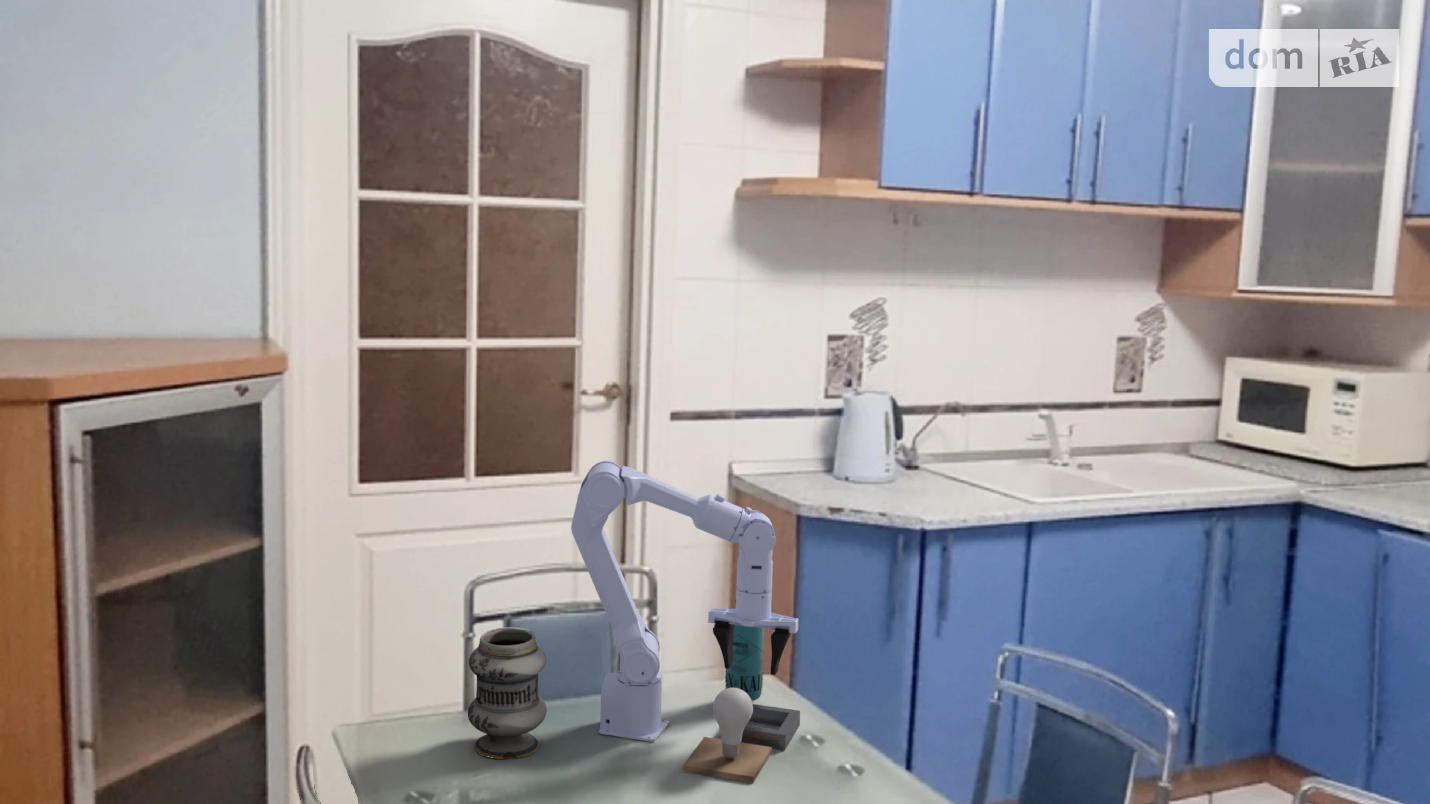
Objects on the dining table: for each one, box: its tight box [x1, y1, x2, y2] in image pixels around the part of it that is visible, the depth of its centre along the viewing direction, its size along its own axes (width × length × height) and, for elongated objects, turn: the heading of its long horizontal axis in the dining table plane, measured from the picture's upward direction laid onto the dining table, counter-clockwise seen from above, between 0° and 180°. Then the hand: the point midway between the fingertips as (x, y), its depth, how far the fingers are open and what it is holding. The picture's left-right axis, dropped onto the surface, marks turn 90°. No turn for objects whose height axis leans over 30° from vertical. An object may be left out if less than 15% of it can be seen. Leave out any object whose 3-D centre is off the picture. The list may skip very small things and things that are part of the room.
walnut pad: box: [682, 736, 772, 784], centre depth 184 cm, size 11×11×1 cm
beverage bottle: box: [724, 599, 765, 702], centre depth 206 cm, size 6×7×20 cm
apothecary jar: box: [467, 626, 548, 760], centre depth 186 cm, size 12×12×18 cm
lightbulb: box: [712, 688, 754, 759], centre depth 182 cm, size 6×6×11 cm
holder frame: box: [741, 703, 801, 751], centre depth 195 cm, size 10×10×2 cm
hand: (751, 669), depth 195 cm, fingers open, 7 cm apart
